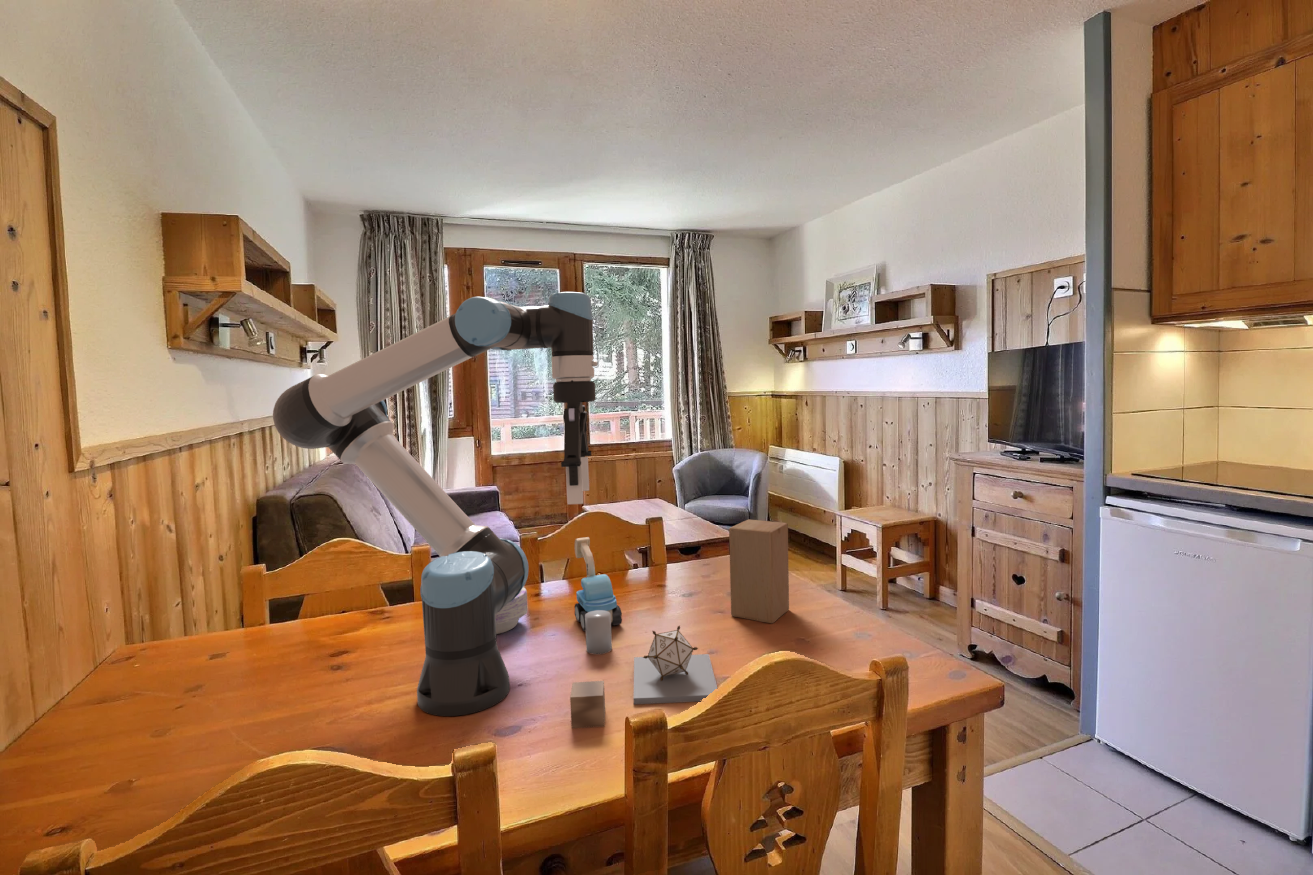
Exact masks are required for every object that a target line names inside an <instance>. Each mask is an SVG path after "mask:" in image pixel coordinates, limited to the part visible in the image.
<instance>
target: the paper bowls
mask: <svg viewBox="0 0 1313 875" xmlns="http://www.w3.org/2000/svg"><path fill="white" fill-rule="evenodd" d="M528 609H529V608H528V591H527V589H526V588H525V586H524V587H523V588H522V589H521V591H520V593H519V594H518V595H517V596H516V597H515V598H514V599H513V600H512V601H511V602H509V603H508V604H507V605H505V606H504V607H503V608H502V609H501V610H500V611H499V612H497V613H496V614H495V620H496V635H499V634H500V635H501V634H503V633H506V632H508V631H511V630H513V629H514V628H515V627H517V625H518V623H519V620H520V618H522V617H524V616H525V615H526V614H528Z"/></svg>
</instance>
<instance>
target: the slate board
mask: <svg viewBox="0 0 1313 875" xmlns="http://www.w3.org/2000/svg"><path fill="white" fill-rule="evenodd" d="M643 657H644V656H639V657H638V656H637V657H636V656H635V657H633V697H632V698H633V705H647V704H649V705H650V704H652V705H653V704H667V703H668V704H669V703H671V704H673V703H691V702H692V703H693V702H701V701H700V700H702V699H703V698H706V697H707V696H708V695H709V694H710V693H712V692H713V691H714V690H715V689H717V688H718V686H717V681H716V676H715V673H714V668H713V666H712V661H711V658H710V654H708V653H703V654H692V655H691V658H690V660H689V663H688V666H687V668H686V671H687V672H688V675H686V674H685V672H681V673H676V674H672V675H667V676H664V677H663V680H662V681H661V680H660V678H661V676H662V675H661V674H660V673H659V671H658V670H657V669H656V668H655V666H654V665H653V664H652V662H651V661H650V660H649V658H643Z"/></svg>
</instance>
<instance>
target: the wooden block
mask: <svg viewBox="0 0 1313 875" xmlns="http://www.w3.org/2000/svg"><path fill="white" fill-rule="evenodd" d="M728 532H729V534H728V535H729V577H730V578H729V581H730V582H729V584H730V586H729V588H730V616H731V617H734V618H735V617H736V618H739V619H740V618H741V619H746V620H751V621H758V622H762V623H768V624H774V623H775V622H776V621H777V620H778V619H779V618H780V617H782V616H783V615H784V614H786V612H788V611H789V609H790V592H789V591H790V588H789V587H790V585H789V584H790V583H789V582H790V581H789V580H790V579H789V574H790V573H789V527H788V523H787V522H780V521H770V520H759V519H746V520H744V521H741V522H740V523H737V524H735V525H733V526H731V527H729V529H728Z"/></svg>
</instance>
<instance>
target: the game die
mask: <svg viewBox="0 0 1313 875" xmlns="http://www.w3.org/2000/svg"><path fill="white" fill-rule="evenodd" d="M680 630H681V625H678V626H677V628H676V629H673V630H669V631H665V632H660V633H656V631H655V630H652V634H653V635H654V636H653V638H652V639H653V640H652V643H651V645H650V649H649V651H648V655H644V656H642V657H643V658H649V660H650V661H651V662H652V664H653V665H654V666H655V668H656V669H657V670H658V671H659V673H660V674H661V675H662V676H661V678H660V680H661V681H662V680H663V677H664V676H667V675H672V674H676V673H681V672H685V674H686V675H688V672H687V671H686V668H687V666H688V663H689V660H690V658H691V655H693V652H694V651H697V650H698V649H699V647H697V646H694V647H693V646H692V645H691V644H690V642H689V641H688V640H687V639H686V637H685V636H684V635H683V634H682V633H681V631H680Z"/></svg>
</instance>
